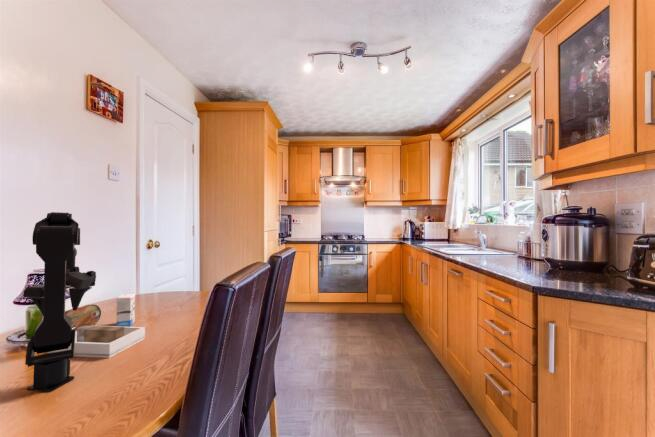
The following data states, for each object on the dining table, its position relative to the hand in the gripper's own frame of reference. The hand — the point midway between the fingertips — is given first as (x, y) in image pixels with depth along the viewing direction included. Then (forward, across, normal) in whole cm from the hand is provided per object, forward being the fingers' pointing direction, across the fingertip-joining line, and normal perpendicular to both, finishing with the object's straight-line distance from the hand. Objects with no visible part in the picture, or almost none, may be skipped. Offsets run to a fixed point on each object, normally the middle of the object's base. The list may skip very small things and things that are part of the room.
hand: (61, 314), depth 96 cm
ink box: (+12, +28, 0) cm, 30 cm away
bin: (+12, +6, -8) cm, 16 cm away
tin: (+12, +22, +14) cm, 29 cm away
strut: (+11, +6, -8) cm, 15 cm away
